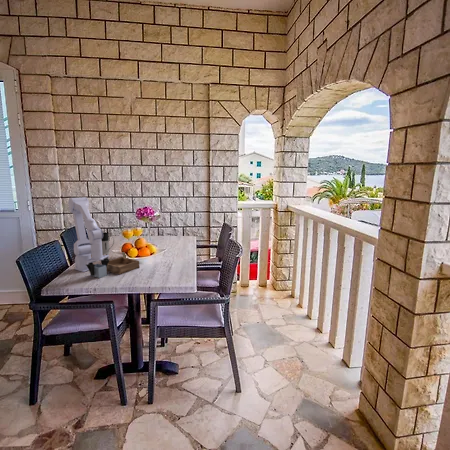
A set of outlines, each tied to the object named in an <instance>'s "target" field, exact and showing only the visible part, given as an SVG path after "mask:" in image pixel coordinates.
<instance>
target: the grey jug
mask: <svg viewBox="0 0 450 450" xmlns="http://www.w3.org/2000/svg"><path fill="white" fill-rule="evenodd" d="M111 238H112V240H113V242H112V245H111V246H110V242H111V241H110V239H111ZM114 245H115V237H114V236H113V235H109V232H105V231H104V232H103V238H102V253H103V255H106V254H107V255H110V254H111V251H110V250H111V248H113V247H114Z"/></svg>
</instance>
